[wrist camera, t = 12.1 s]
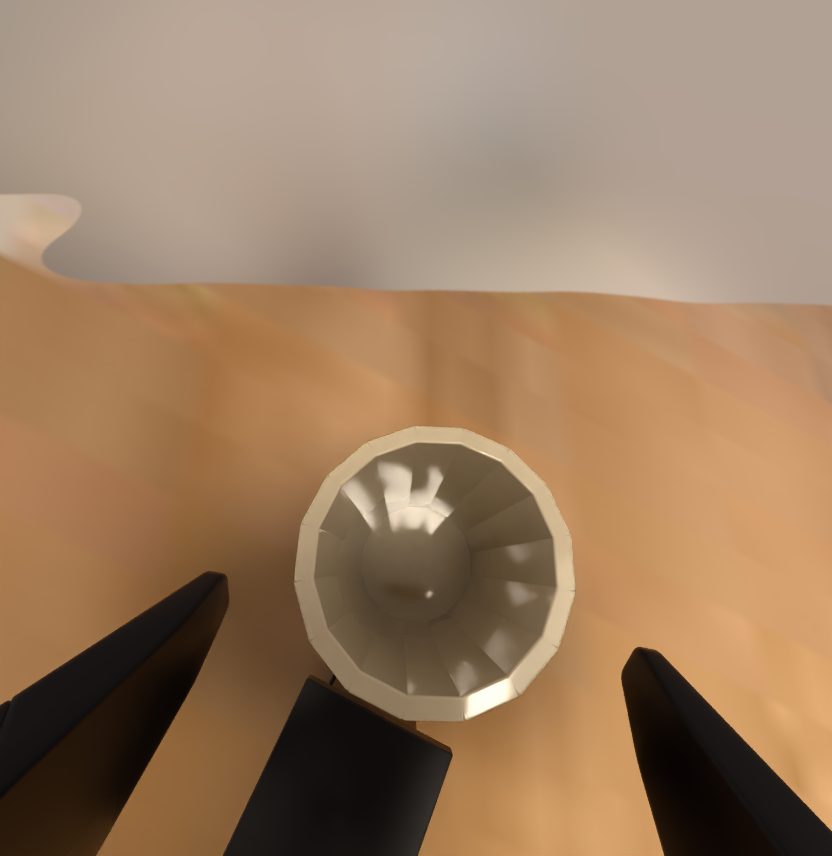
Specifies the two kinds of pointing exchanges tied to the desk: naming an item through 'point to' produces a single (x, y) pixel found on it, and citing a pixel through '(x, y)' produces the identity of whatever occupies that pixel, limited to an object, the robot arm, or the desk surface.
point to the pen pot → (434, 574)
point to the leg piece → (342, 782)
